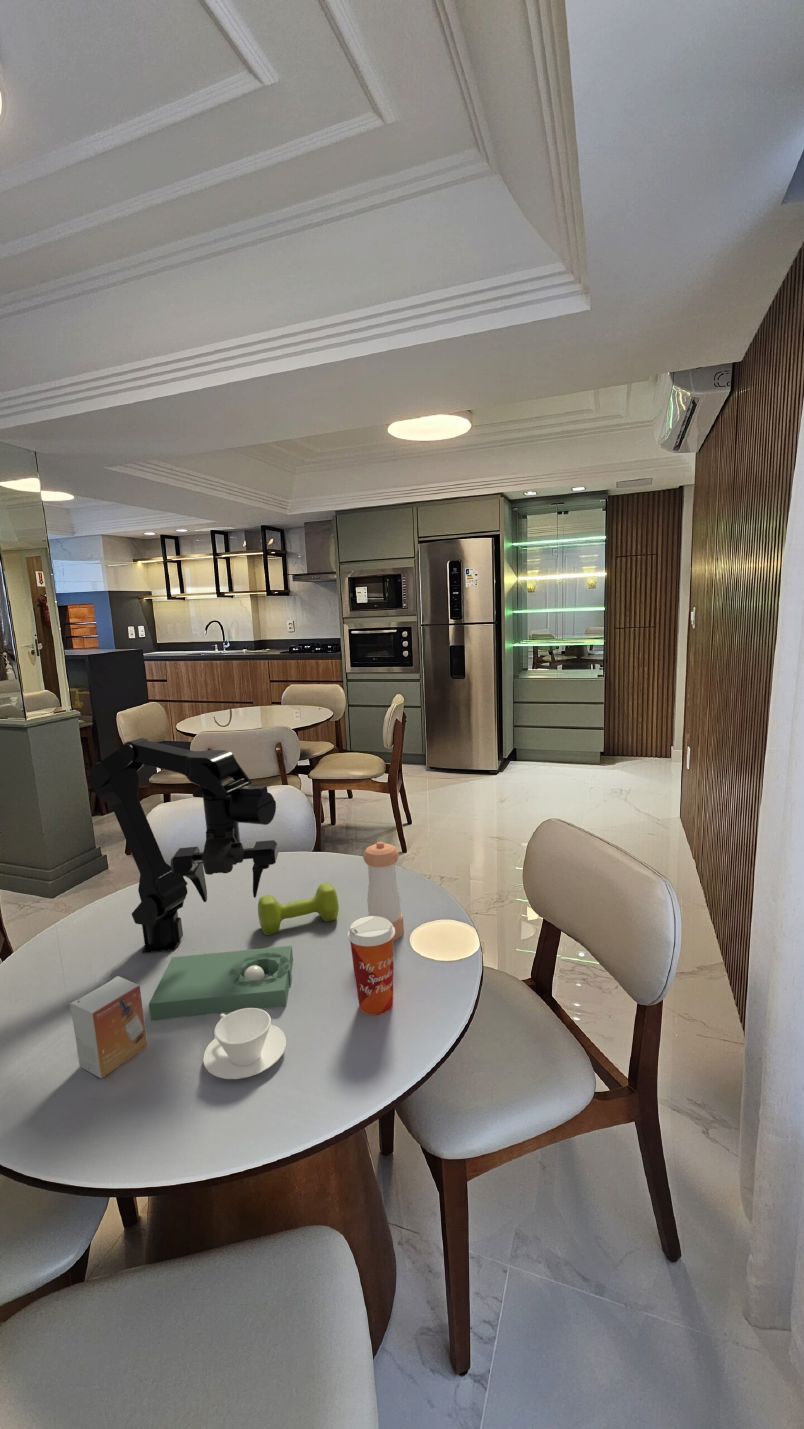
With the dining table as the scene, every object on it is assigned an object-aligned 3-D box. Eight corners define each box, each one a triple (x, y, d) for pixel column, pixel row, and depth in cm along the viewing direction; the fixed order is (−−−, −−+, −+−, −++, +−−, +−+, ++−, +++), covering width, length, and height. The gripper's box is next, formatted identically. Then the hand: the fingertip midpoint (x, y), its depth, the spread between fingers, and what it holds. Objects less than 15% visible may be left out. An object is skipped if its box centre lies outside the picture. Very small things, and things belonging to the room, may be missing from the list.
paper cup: (364, 1025, 99) (358, 943, 97) (345, 1000, 106) (339, 922, 103) (408, 1008, 103) (403, 929, 100) (387, 985, 109) (382, 910, 107)
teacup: (245, 1022, 102) (242, 992, 101) (303, 1044, 96) (300, 1012, 95) (186, 1070, 92) (182, 1037, 91) (247, 1099, 86) (243, 1064, 85)
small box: (101, 1080, 90) (90, 1014, 89) (78, 1067, 93) (68, 1003, 92) (149, 1046, 97) (140, 984, 95) (126, 1035, 100) (118, 974, 98)
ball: (265, 987, 110) (246, 994, 110) (268, 976, 113) (249, 982, 113) (258, 970, 109) (238, 977, 109) (261, 958, 113) (242, 965, 112)
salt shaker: (395, 944, 122) (390, 851, 119) (361, 939, 125) (355, 847, 122) (409, 926, 129) (404, 837, 126) (376, 921, 132) (371, 834, 128)
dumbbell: (263, 942, 126) (259, 908, 125) (258, 924, 134) (254, 892, 133) (342, 924, 132) (340, 892, 130) (333, 908, 139) (331, 877, 138)
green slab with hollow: (151, 1020, 103) (148, 1003, 103) (173, 972, 117) (172, 957, 117) (287, 1006, 105) (286, 989, 105) (294, 960, 119) (293, 945, 118)
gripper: (157, 840, 108) (168, 924, 110) (267, 830, 109) (275, 914, 112) (174, 818, 119) (184, 896, 121) (274, 810, 120) (281, 887, 123)
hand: (230, 899), depth 119 cm, fingers open, 9 cm apart
